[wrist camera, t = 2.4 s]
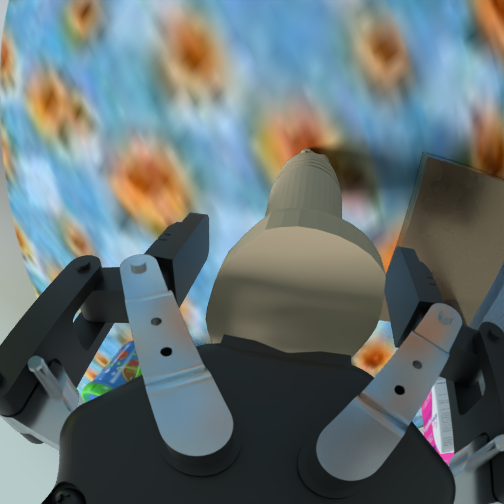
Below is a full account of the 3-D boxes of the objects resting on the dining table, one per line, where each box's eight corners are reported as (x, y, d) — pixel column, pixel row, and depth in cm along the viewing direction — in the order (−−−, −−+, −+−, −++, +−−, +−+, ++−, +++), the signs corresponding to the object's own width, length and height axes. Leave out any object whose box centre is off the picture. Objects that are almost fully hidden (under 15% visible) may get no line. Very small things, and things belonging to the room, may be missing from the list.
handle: (357, 142, 19) (420, 270, 7) (323, 218, 23) (316, 395, 11) (291, 116, 19) (240, 198, 7) (263, 195, 23) (193, 356, 11)
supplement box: (428, 367, 30) (441, 453, 20) (470, 362, 28) (489, 442, 19) (417, 392, 33) (424, 470, 23) (455, 387, 31) (468, 461, 22)
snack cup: (155, 390, 44) (131, 441, 36) (101, 352, 42) (70, 402, 33) (208, 362, 36) (181, 432, 28) (138, 311, 34) (96, 378, 25)
